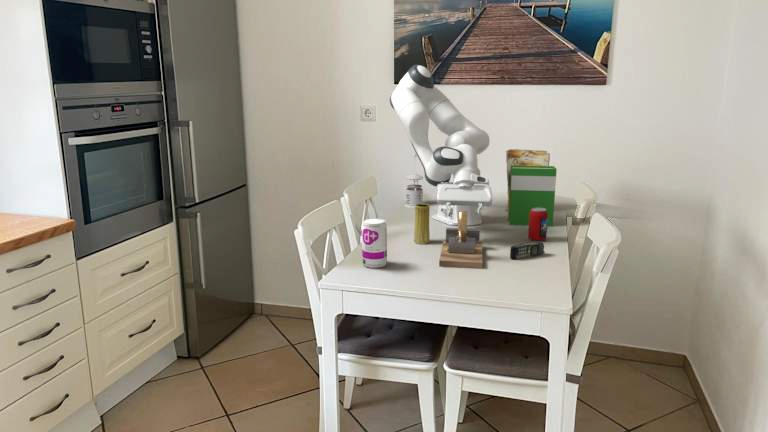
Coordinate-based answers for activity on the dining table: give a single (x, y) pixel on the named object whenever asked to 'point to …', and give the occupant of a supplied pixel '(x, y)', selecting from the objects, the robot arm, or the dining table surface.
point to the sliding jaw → (461, 237)
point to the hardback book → (531, 192)
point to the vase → (422, 224)
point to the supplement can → (374, 243)
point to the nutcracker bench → (461, 258)
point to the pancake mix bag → (525, 161)
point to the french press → (413, 195)
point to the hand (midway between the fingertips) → (463, 214)
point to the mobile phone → (526, 250)
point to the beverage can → (538, 224)
